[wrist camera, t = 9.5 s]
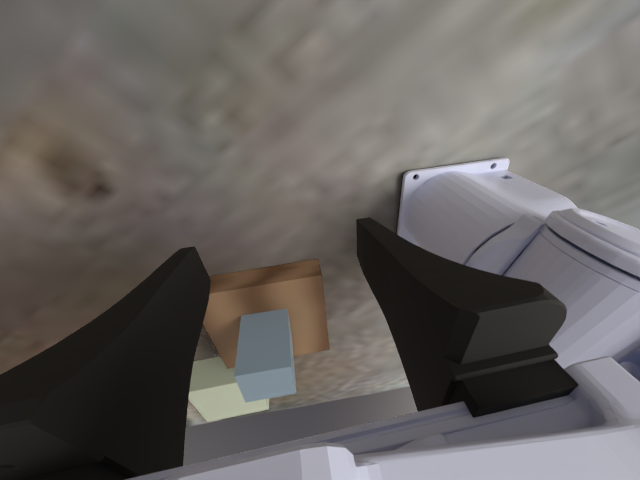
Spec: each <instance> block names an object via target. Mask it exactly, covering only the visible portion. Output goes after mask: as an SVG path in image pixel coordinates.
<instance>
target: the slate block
mask: <svg viewBox="0 0 640 480" xmlns="http://www.w3.org/2000/svg"><path fill="white" fill-rule="evenodd" d="M234 377H235V380H236V382H237V384H238V386H239V389H240V391H241V393H242V396H243V398H244V400H245V402H246V403H247V402H252V401H257V400H263V399H268V398H274V397H279V396H284V395H290V394H295V393H296V383H295V371H294V358H293V346H292V335H291V328H290V322H289V316H288V309H281V310H274V311H267V312H261V313H254V314H247V315H241V321H240V330H239V339H238V347H237V356H236V365H235V373H234Z"/></svg>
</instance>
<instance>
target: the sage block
mask: <svg viewBox="0 0 640 480" xmlns="http://www.w3.org/2000/svg"><path fill="white" fill-rule="evenodd" d="M234 373H235V368H230V369H227V367H226V365H225V364H224V362H223V360H222V358H221V356H220V357H215V358H209V359H204V360H199V361H194V362H193V368H192V375H191V382H190V390H189V398H188V399H189V400H190V402H191V403H192V404H193V405H194V406H195V408H196V409H197V410H198V411H199V412H200V414H201V415H202V416H203V417H204V418H205V419H206V421H207V422H210V421H215V420H219V419H224V418H229V417H234V416H239V415H243V414H248V413H253V412H258V411H263V410H267V409H269V398H268V399H263V400H257V401H252V402H247V403H246V402H245V400H244V398H243V396H242V393H241V391H240V389H239V386H238V384H237V382H236V380H235V377H234Z"/></svg>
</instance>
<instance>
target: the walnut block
mask: <svg viewBox="0 0 640 480" xmlns="http://www.w3.org/2000/svg"><path fill="white" fill-rule="evenodd" d="M209 278H210V280H211V284H210V294H209V302H208V306H207V310H206V313H205V317H204V321H203V325H204V327H205V329H206V330H207V332H208V334H209V336H210V338H211V340H212V341H213V343H214V345H215V347H216V349H217V351H218V353H219V354H220V356H221V358H222V360H223V362H224V364H225V365H226V367H227V369H230V368H235V365H236V356H237V347H238V339H239V330H240V321H241V315H247V314H254V313H261V312H267V311H274V310H281V309H288V316H289V322H290V328H291V335H292V346H293V356H297V355H303V354H308V353H313V352H318V351H324V350H329V341H328V331H327V322H326V312H325V303H324V293H323V284H322V275H321V270H320V266H319V262H318V259H313V260H307V261H301V262H295V263H289V264H282V265H276V266H270V267H264V268H258V269H252V270H245V271H239V272H233V273H227V274H221V275H214V276H209Z"/></svg>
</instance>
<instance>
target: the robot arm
mask: <svg viewBox="0 0 640 480" xmlns="http://www.w3.org/2000/svg"><path fill="white" fill-rule="evenodd" d="M509 162H510V161H509V159H507V158H497V159H490V160H483V161H476V162H469V163H462V164H455V165H447V166H440V167H433V168H426V169H419V170H412V171H407V172H406V173H405V174H404V176H403V182H402V191H401V200H400V210H399V219H398V228H397V234H395V233H394V232H392V231H390V230H389V229H387V228H386V227H384V226H383V225H381V224H379V223H378V222H376V221H375V220H373V219H371V218H370V217H369V218H363V219H357V257H358V260H359V263H360V266H361V268H362V271H363V274H364V276H365V278H366V280H367V282H368V284H369V286H370V288H371V290H372V292H373V294H374V296H375V297H376V299H377V301H378V303H379V305H380V307H381V309H382V311H383V314H384V316H385V318H386V320H387V323H388V326H389V328H390V331H391V334H392V336H393V339H394V342H395V344H396V347H397V350H398V353H399V355H400V358H401V361H402V364H403V367H404V370H405V373H406V376H407V379H408V382H409V385H410V388H411V391H412V394H413V397H414V400H415V404H416V407H417V410H418V412H415V413H410V414H406V415H402V416H397V417H393V418H389V419H384V420H380V421H376V422H371V423H367V424H363V425H358V426H354V427H350V428H346V429H341V430H337V431H332V432H328V433H324V434H320V435H316V436H311V437H307V438H302V439H298V440H294V441H290V442H285V443H281V444H276V445H272V446H268V447H263V448H259V449H255V450H250V451H246V452H242V453H237V454H233V455H229V456H224V457H220V458H216V459H212V460H207V461H203V462H198V463H195V464H190V465H186V466H183V456H184V440H185V427H186V417H187V406H188V398H189V390H190V382H191V375H192V368H193V362H194V356H195V352H196V347H197V343H198V340H199V336H200V332H201V328H202V325H203V321H204V317H205V313H206V310H207V306H208V302H209V294H210V284H211V280H210V278H209V276H208V274H207V271H206V269H205V267H204V265H203V263H202V261H201V259H200V257H199V254H198V252H197V250H196V248H195V246H194V247H188V248H182V249H179V250H178V251H177V252H176V253H174V254H173V255H172V256H171V257H170V258H169V259H167V260H166V261H165V262H164V263H163V264H162V265H161V266H160V267H159V268H158V269H156V270H155V271H154V272H153V273H152V274H151V275H150V276H149V277H147V278H146V279H145V280H144V281H143V282H142V283H141V284H139V285H138V286H137V287H136V288H135V289H133V290H132V291H131V292H130V293H129V294H127V295H126V296H125V297H124V298H123V299H121V300H120V301H119V302H117V303H116V304H115V305H114V306H112V307H111V308H110V309H108V310H107V311H105V312H104V313H103V314H101V315H100V316H98V317H97V318H96V319H94V320H93V321H91V322H90V323H88V324H87V325H85V326H84V327H82V328H80V329H79V330H77V331H76V332H74V333H73V334H71V335H69V336H68V337H66V338H65V339H63V340H62V341H60V342H58V343H57V344H55V345H53V346H52V347H50V348H48V349H46V350H45V351H43V352H41V353H40V354H38V355H36V356H34V357H32V358H31V359H29V360H27V361H25V362H23V363H22V364H20V365H18V366H16V367H14V368H12V369H10V370H9V371H7V372H5V373H3V374H1V375H0V480H640V230H639V229H637V228H634V227H632V226H629V225H627V224H624V223H622V222H619V221H616V220H614V219H611V218H608V217H605V216H602V215H599V214H596V213H593V212H590V211H587V210H583V209H578V208H577V207H576V205H575V204H574V203H573V202H571V201H570V200H569V199H568V198H566V197H564V196H562V195H560V194H558V193H556V192H554V191H551V190H549V189H547V188H545V187H543V186H540V185H538V184H536V183H534V182H531V181H529V180H527V179H525V178H523V177H520V176H518V175H516V174H514V173H511V172H509V171H507V169H508V166H509ZM492 164H493V166H492V167H491V165H492ZM416 174H417V176H416V178H414V179H413V176H414V175H416ZM419 246H421V247H422V248H421V247H419Z"/></svg>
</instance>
